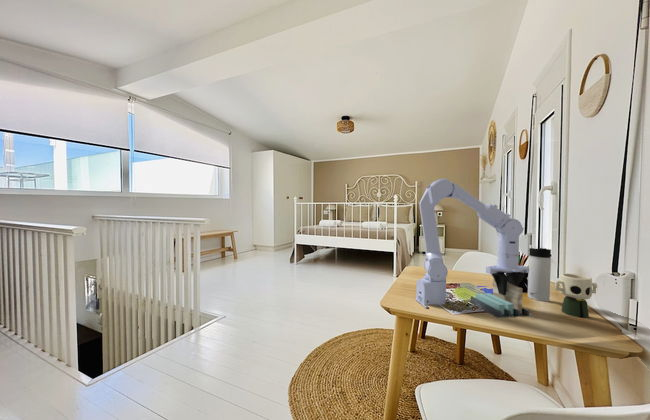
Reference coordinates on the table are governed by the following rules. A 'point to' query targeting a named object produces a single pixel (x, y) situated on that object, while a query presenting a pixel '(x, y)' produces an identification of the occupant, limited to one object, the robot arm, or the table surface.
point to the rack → (496, 312)
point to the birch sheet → (510, 295)
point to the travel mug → (539, 274)
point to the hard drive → (487, 290)
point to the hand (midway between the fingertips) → (506, 294)
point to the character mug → (575, 293)
